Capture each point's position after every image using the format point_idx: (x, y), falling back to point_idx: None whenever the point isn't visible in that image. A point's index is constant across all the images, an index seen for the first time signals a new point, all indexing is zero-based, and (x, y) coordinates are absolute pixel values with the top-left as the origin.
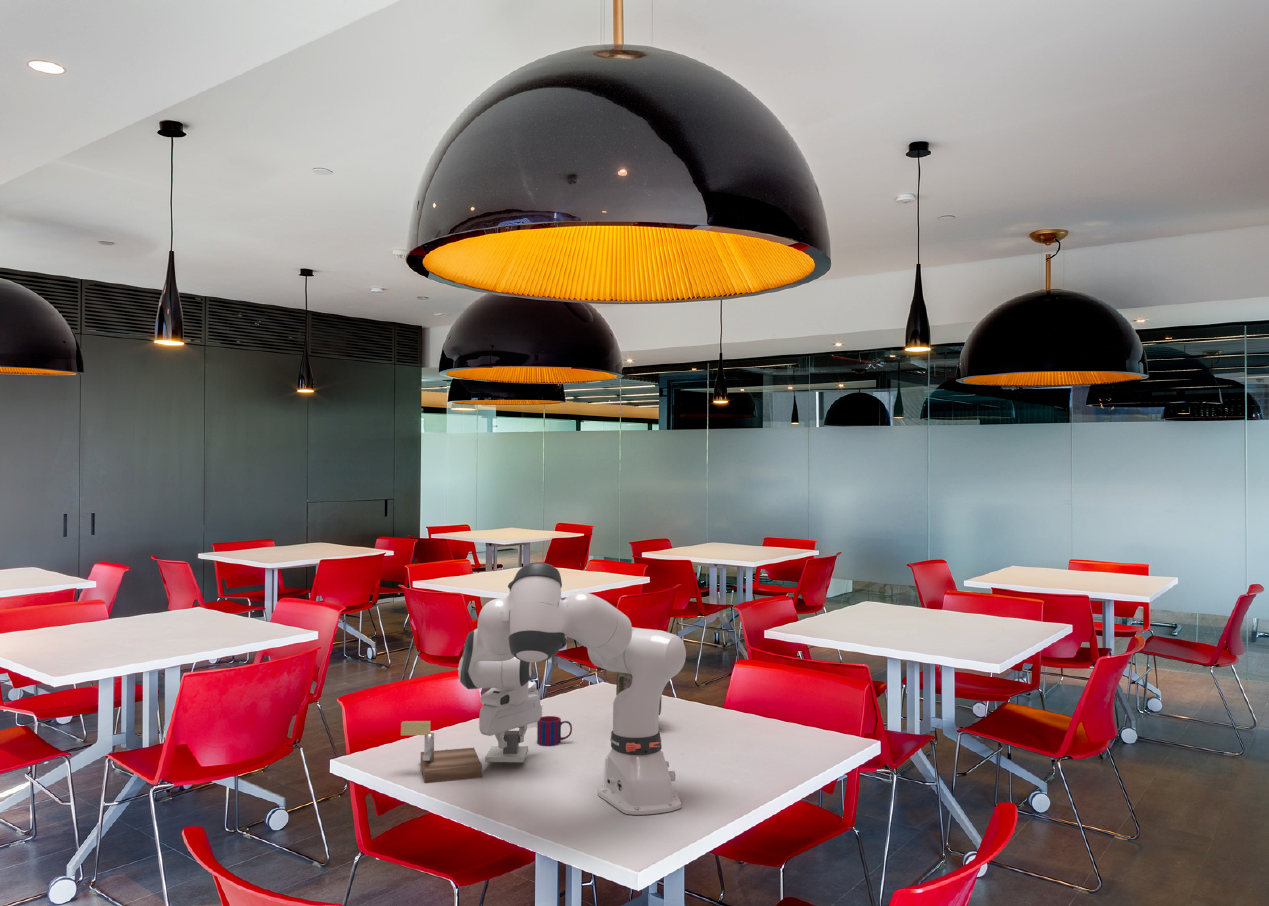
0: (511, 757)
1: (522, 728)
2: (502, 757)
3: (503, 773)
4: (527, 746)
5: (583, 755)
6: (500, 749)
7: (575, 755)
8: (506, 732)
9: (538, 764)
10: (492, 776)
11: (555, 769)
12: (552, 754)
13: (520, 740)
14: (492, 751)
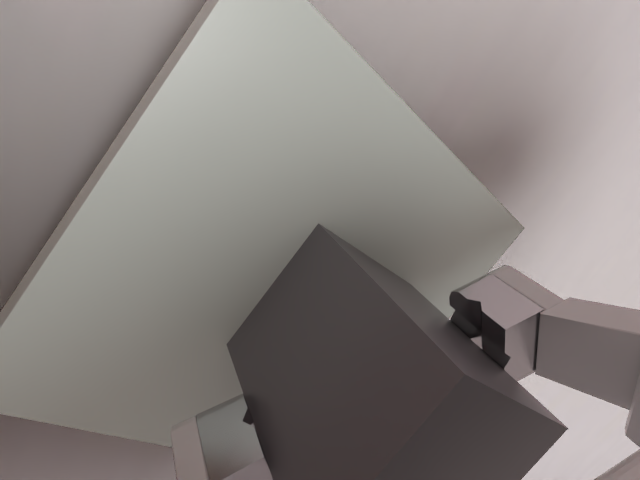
0: None
1: (632, 425)
2: (163, 443)
3: None
4: (515, 233)
5: (630, 294)
6: (277, 194)
7: (617, 278)
8: (406, 474)
9: None
10: (6, 475)
11: None
12: (583, 204)
13: None
14: (148, 221)
